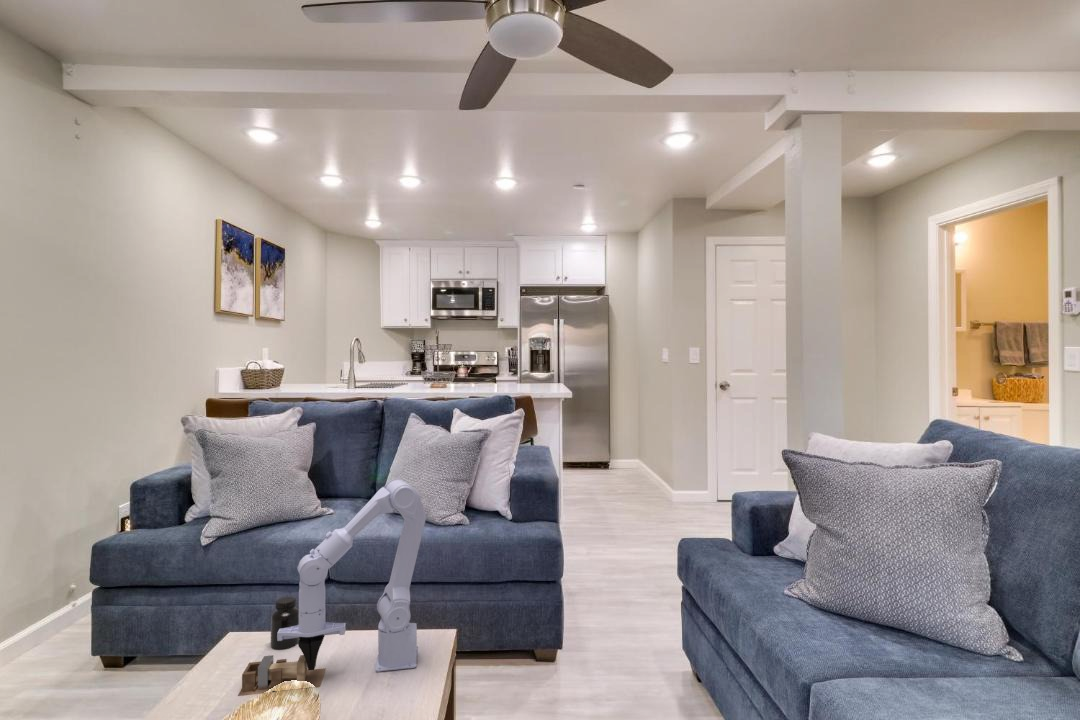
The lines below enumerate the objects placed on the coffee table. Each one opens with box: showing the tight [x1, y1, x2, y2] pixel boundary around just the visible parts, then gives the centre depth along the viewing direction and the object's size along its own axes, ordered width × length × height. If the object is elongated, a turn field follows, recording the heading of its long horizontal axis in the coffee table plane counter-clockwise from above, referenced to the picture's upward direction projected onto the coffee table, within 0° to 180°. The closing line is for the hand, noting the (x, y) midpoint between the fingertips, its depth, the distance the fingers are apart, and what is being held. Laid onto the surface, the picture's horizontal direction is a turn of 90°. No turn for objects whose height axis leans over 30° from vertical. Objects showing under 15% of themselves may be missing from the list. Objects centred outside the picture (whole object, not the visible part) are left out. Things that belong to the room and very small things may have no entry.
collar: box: [258, 654, 275, 690], centre depth 128 cm, size 2×5×5 cm, turn 12°
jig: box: [237, 658, 327, 697], centre depth 128 cm, size 17×8×5 cm, turn 102°
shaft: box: [269, 654, 308, 681], centre depth 128 cm, size 9×4×4 cm, turn 102°
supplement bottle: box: [270, 596, 299, 651], centre depth 146 cm, size 7×7×12 cm
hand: (311, 667), depth 130 cm, fingers closed
